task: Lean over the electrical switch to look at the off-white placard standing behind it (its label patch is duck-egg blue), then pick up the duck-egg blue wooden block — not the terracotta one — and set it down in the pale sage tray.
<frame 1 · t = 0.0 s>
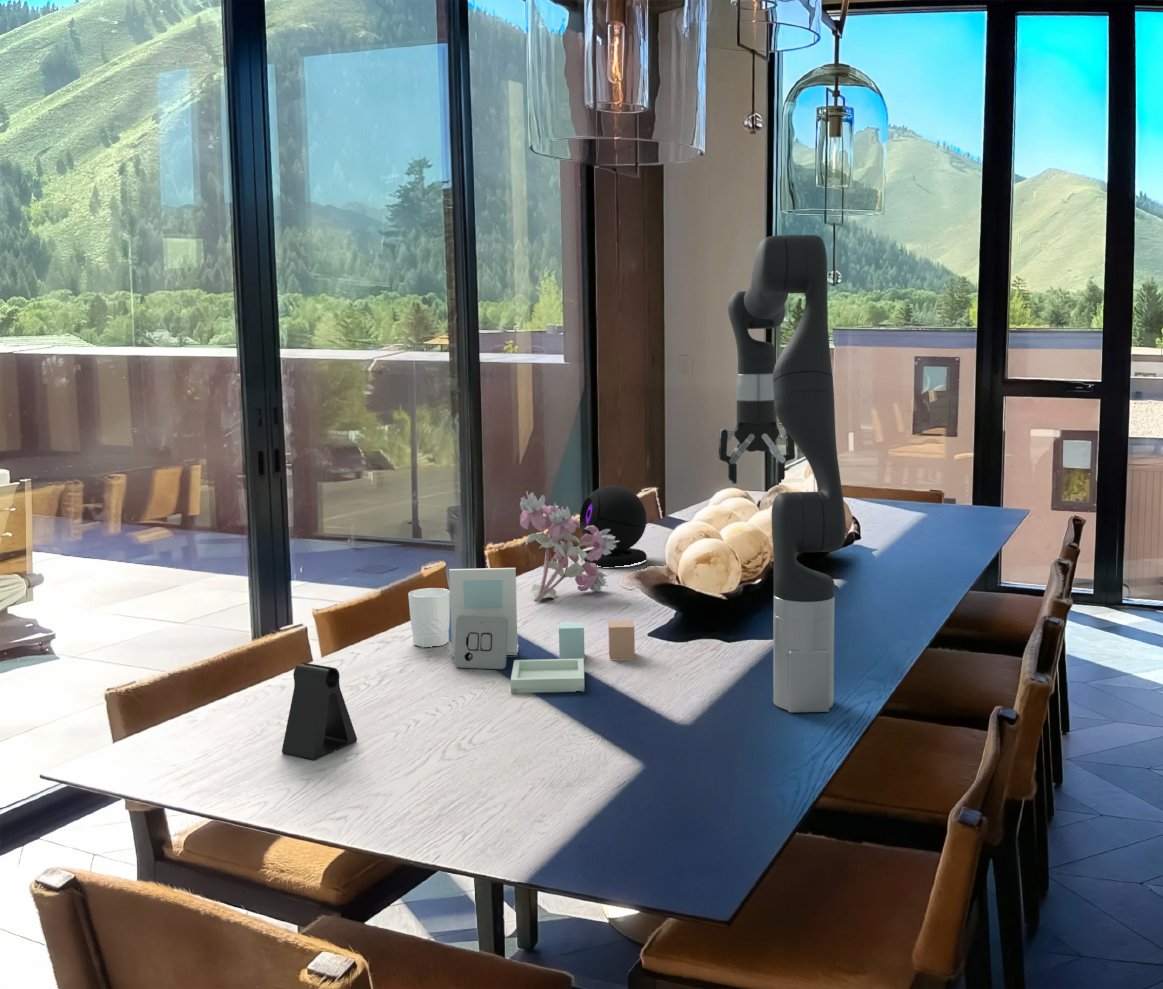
hand: (756, 482, 221), 29 cm above the table, tool pointing down, fingers open, 8 cm apart
blue block: (572, 657, 210), on the table
flower: (571, 595, 262), on the table
black triangular stand: (320, 749, 165), on the table
terracotta block: (621, 656, 210), on the table
white cup: (431, 644, 222), on the table
placard: (485, 654, 213), on the table
tray: (548, 681, 195), on the table
webcam: (614, 562, 300), on the table
electrical switch: (482, 666, 206), on the table
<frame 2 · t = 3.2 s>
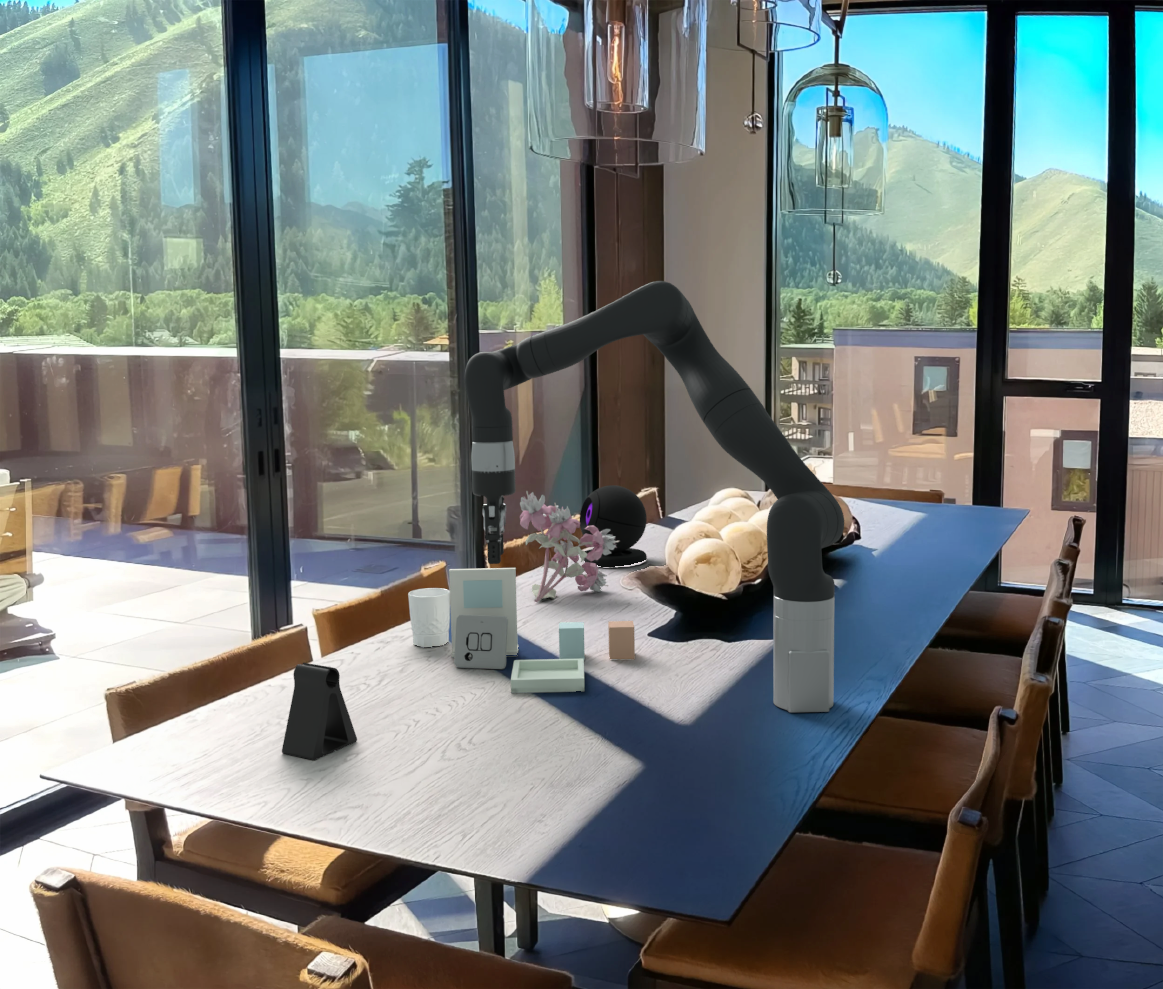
hand: (496, 559, 203), 19 cm above the table, tool pointing down, fingers open, 8 cm apart
nothing on the table moved.
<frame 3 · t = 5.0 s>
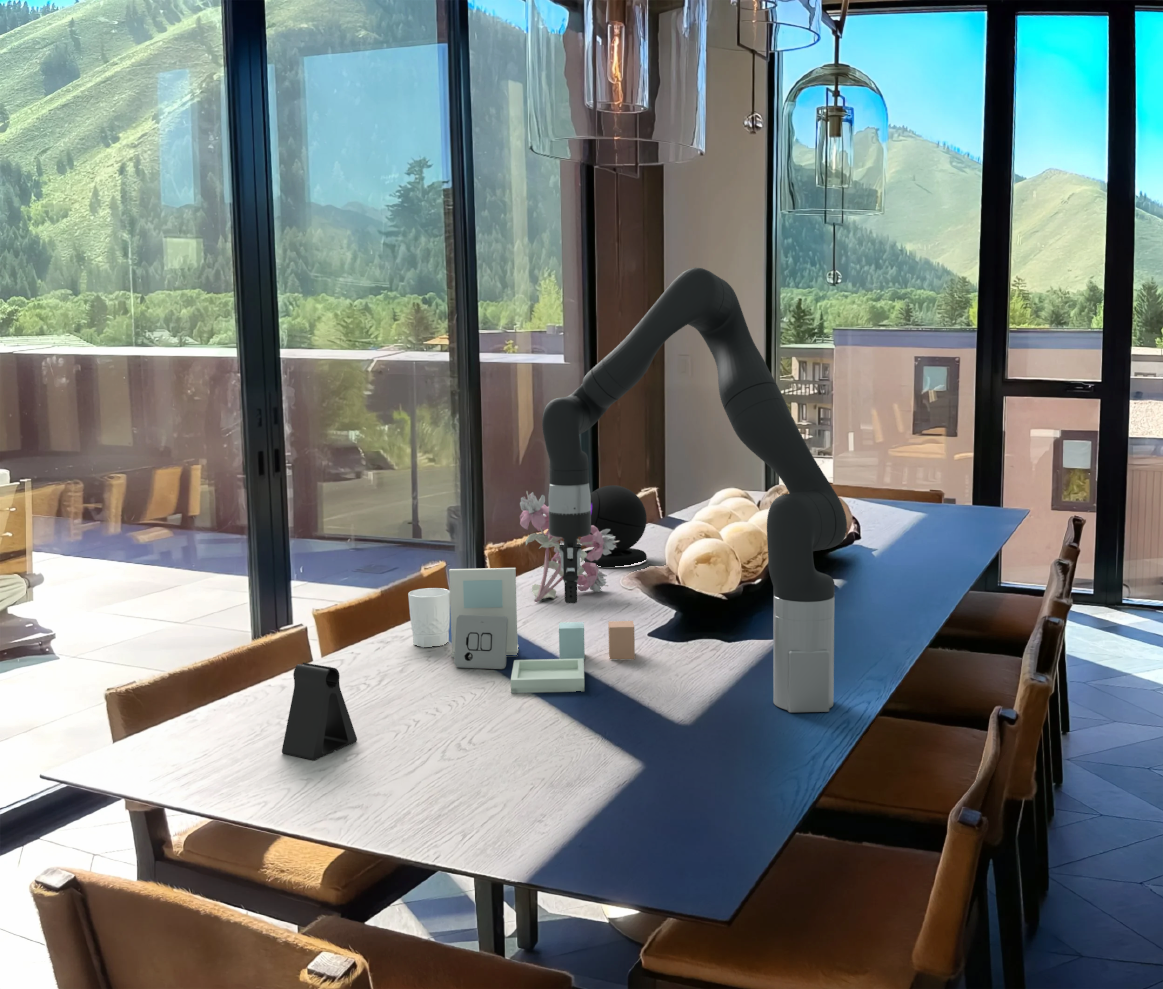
hand: (571, 597, 209), 11 cm above the table, tool pointing down, fingers open, 8 cm apart
nothing on the table moved.
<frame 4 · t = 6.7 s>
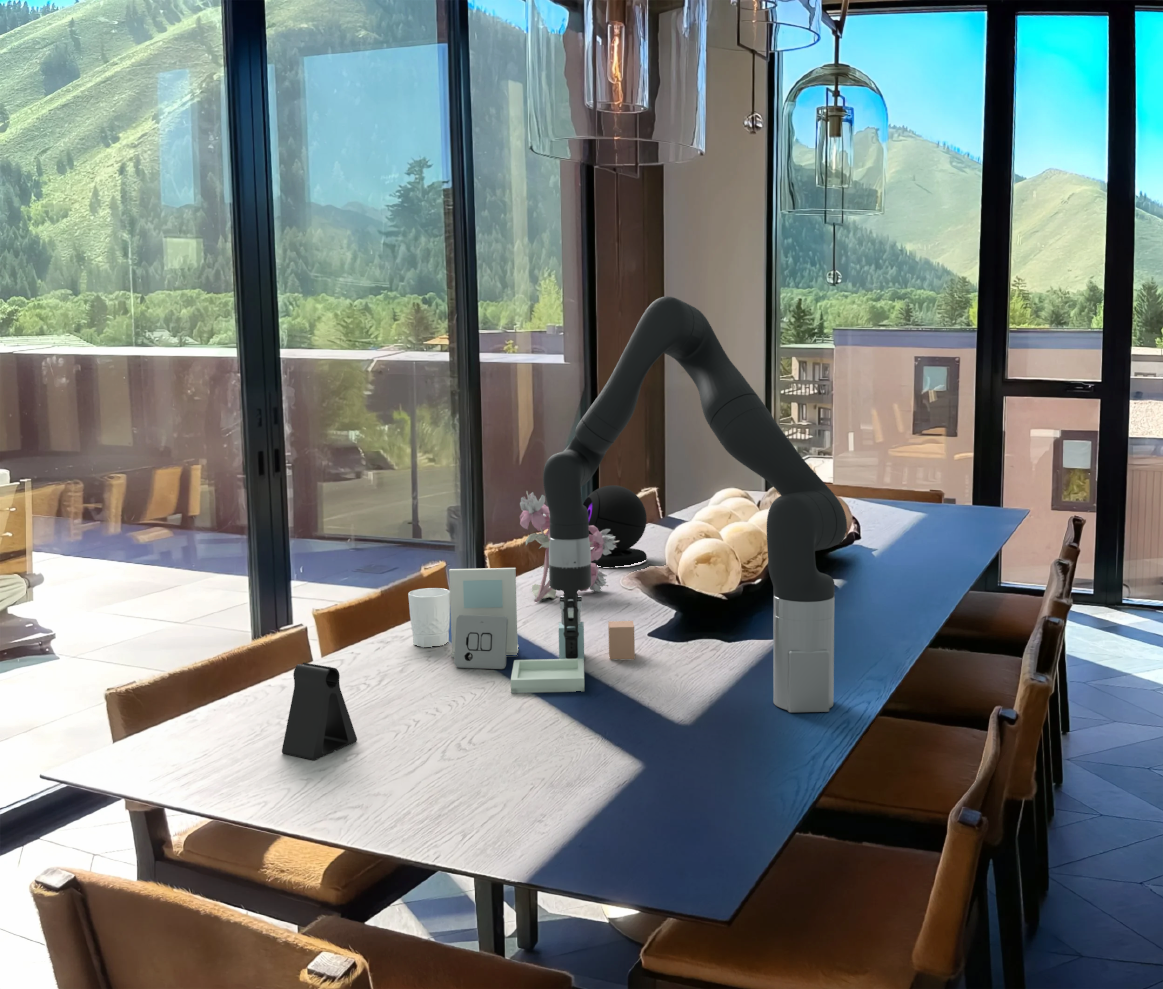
hand: (571, 654, 210), 1 cm above the table, tool pointing down, fingers closed on blue block, 4 cm apart
blue block: (571, 657, 210), on the table, touching gripper
everything else where it was.
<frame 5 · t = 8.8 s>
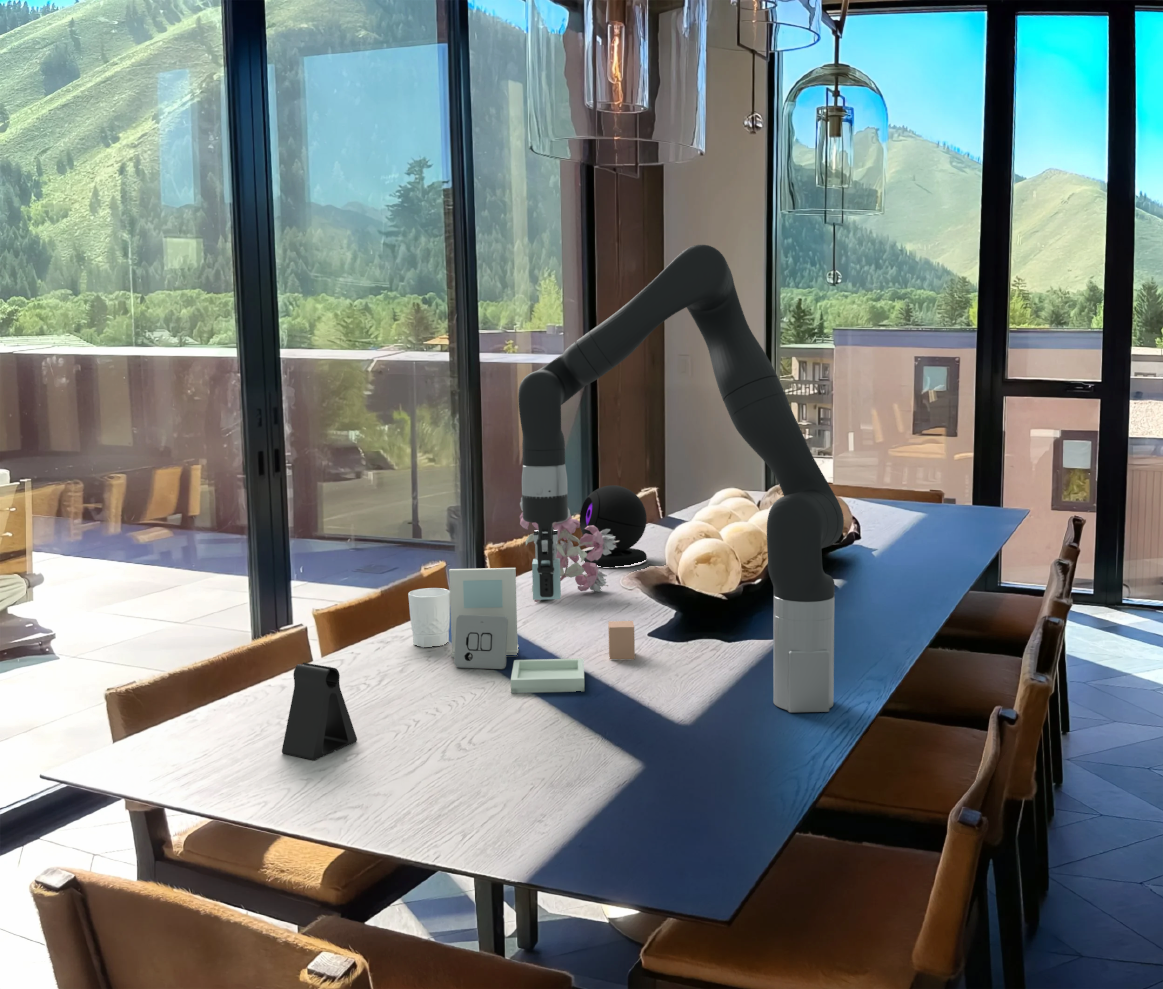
hand: (547, 592, 193), 15 cm above the table, tool pointing down, fingers closed on blue block, 4 cm apart
blue block: (547, 596, 193), point 15 cm above the table, touching gripper
everything else where it was.
when the fingers open (3 cm above the table, at t = 11.1 s): blue block drops 1 cm, resting on tray.
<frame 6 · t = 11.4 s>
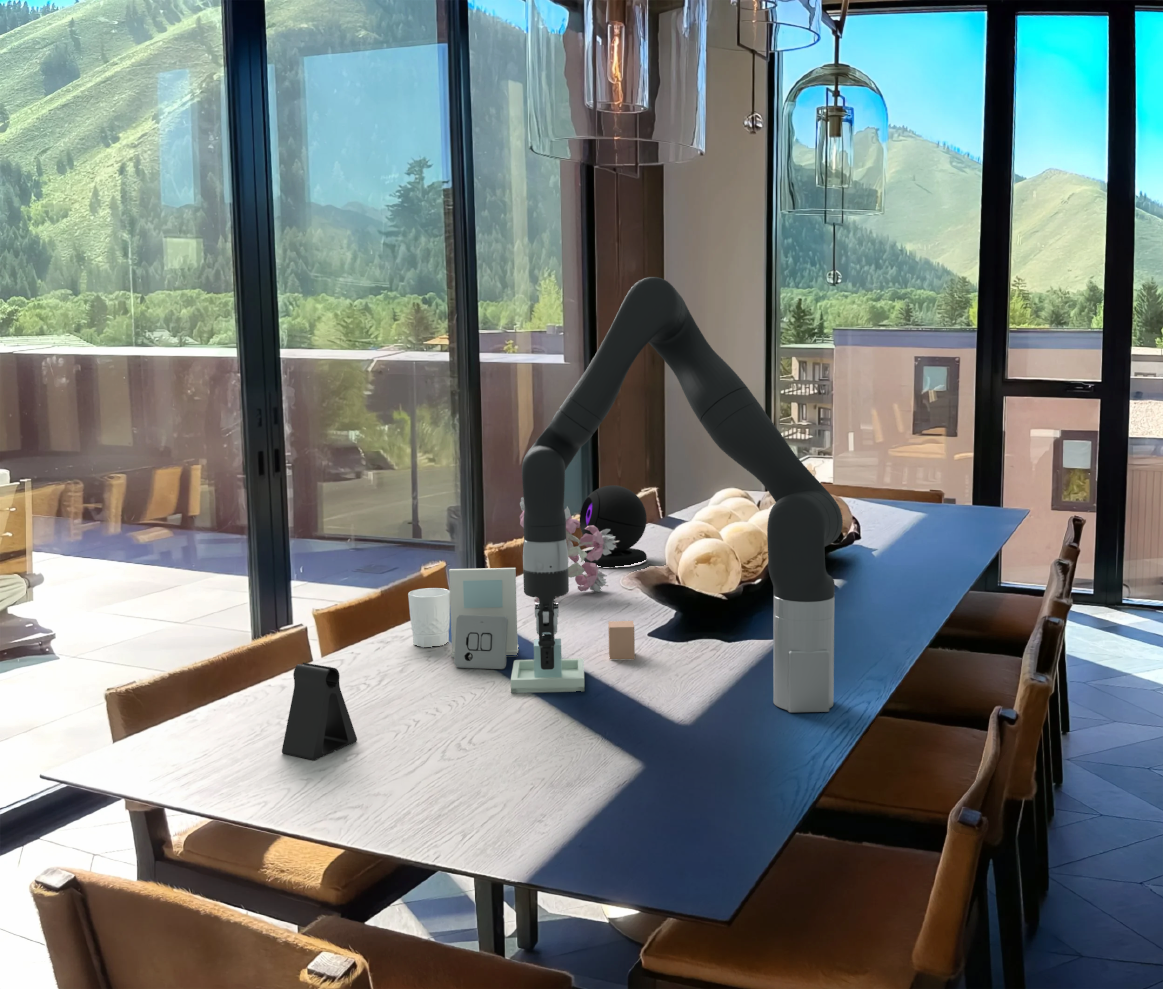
hand: (548, 662, 195), 3 cm above the table, tool pointing down, fingers open, 7 cm apart
blue block: (548, 677, 195), point 1 cm above the table, touching tray
everything else where it was.
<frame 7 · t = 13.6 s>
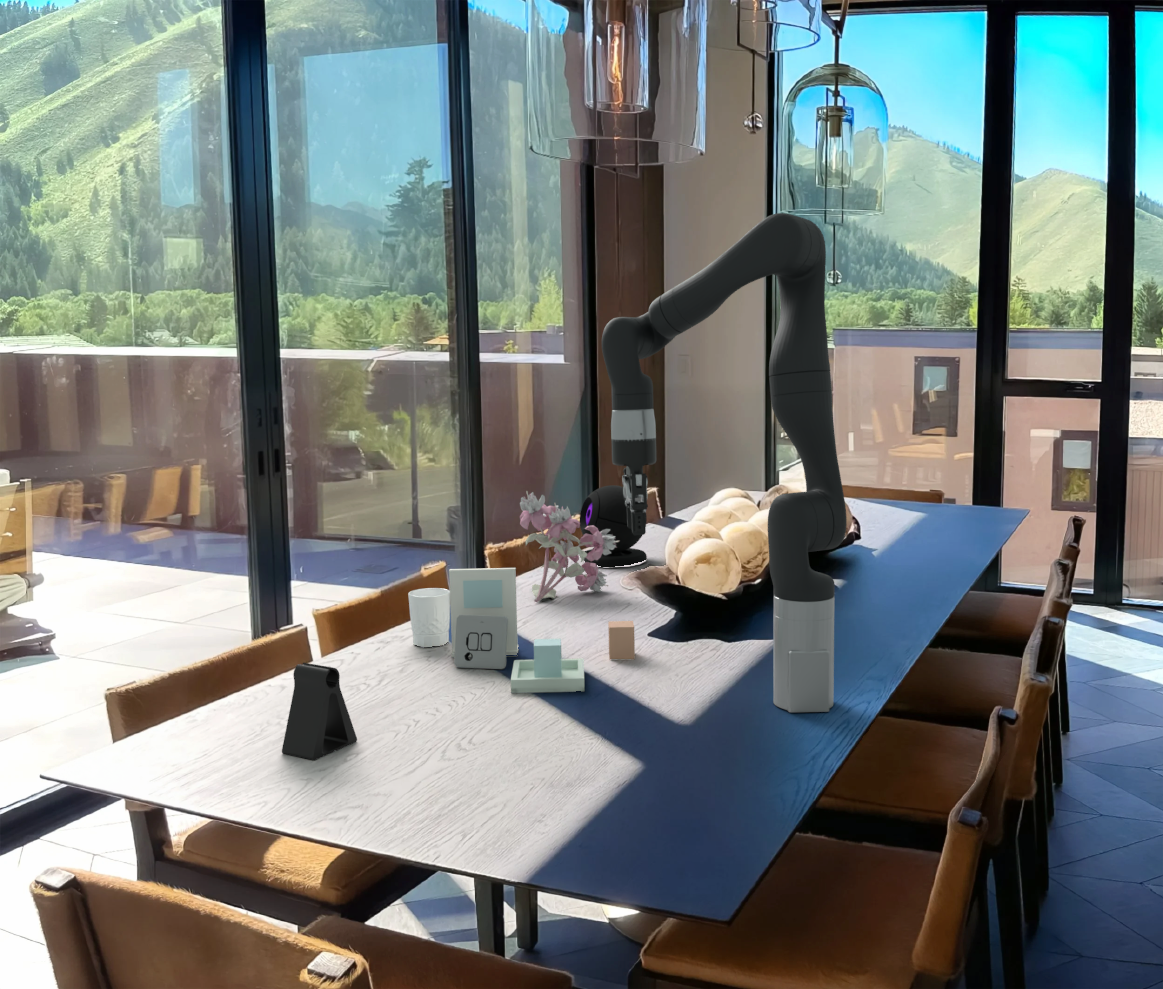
hand: (636, 531, 197), 24 cm above the table, tool pointing down, fingers open, 8 cm apart
nothing on the table moved.
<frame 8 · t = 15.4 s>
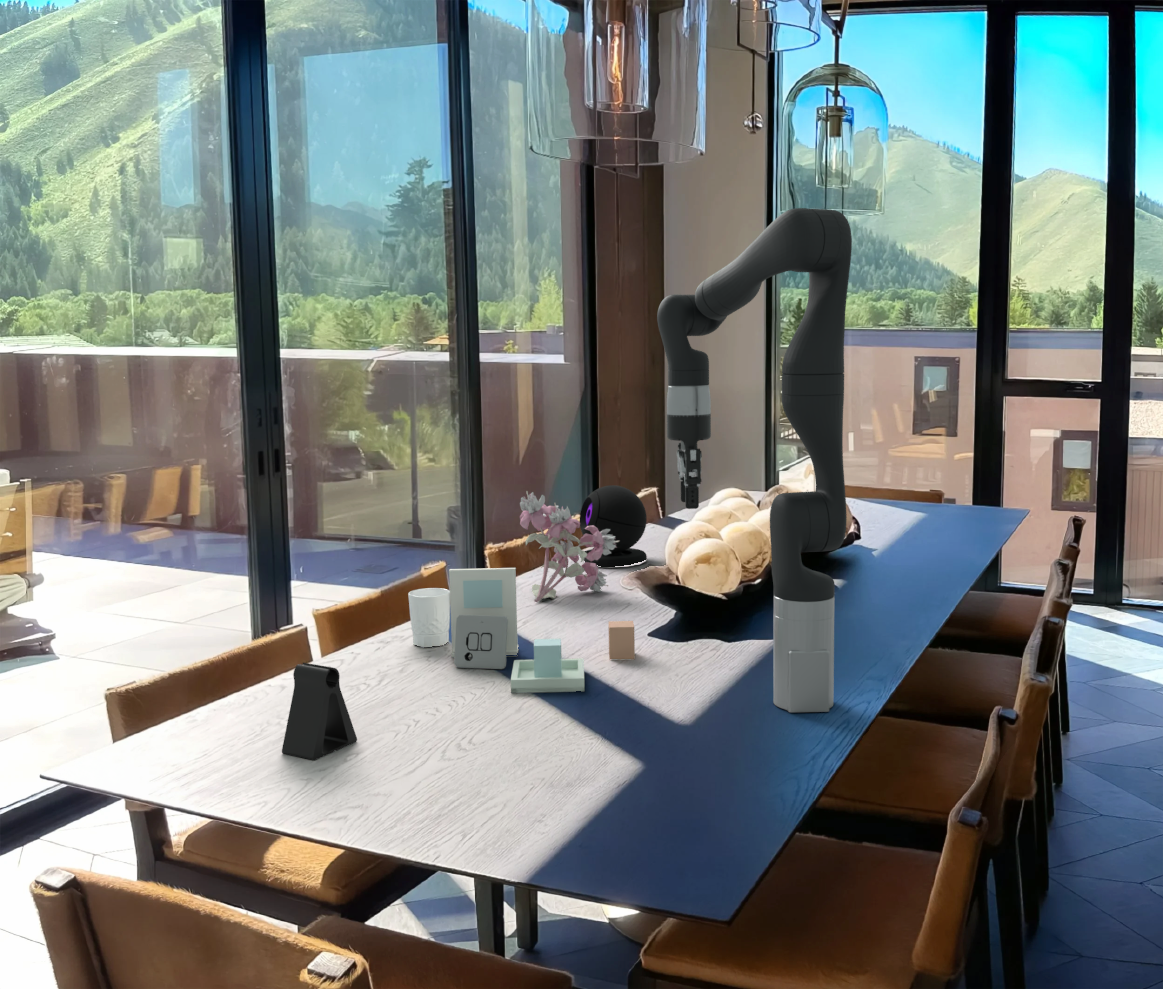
hand: (689, 505, 201), 28 cm above the table, tool pointing down, fingers open, 8 cm apart
nothing on the table moved.
at the end: blue block inside the target area on the tray (0.0 cm from its centre), point 0.8 cm above the tray's base; the gripper is holding nothing; terracotta block moved 0.1 cm from its start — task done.
